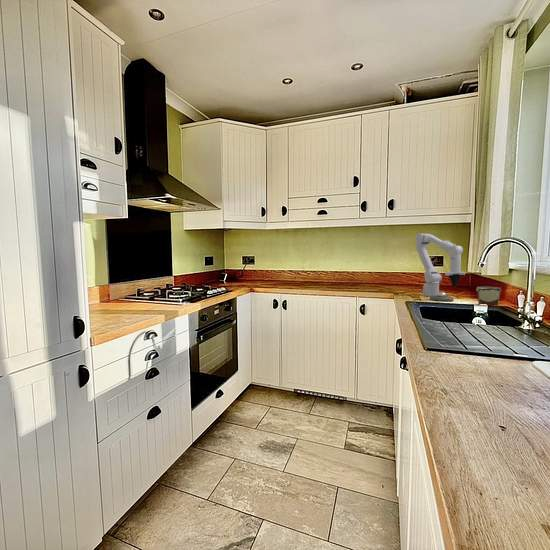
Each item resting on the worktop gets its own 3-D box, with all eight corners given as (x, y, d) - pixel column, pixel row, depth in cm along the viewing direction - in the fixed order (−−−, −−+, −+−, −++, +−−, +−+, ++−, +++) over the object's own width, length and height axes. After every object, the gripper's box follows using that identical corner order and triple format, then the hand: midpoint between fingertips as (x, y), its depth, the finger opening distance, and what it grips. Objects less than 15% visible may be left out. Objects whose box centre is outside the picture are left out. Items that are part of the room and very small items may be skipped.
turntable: (424, 298, 192) (425, 296, 192) (440, 297, 196) (440, 294, 196) (442, 301, 179) (442, 298, 179) (458, 300, 184) (458, 297, 184)
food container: (493, 303, 171) (494, 286, 171) (500, 305, 165) (501, 287, 165) (471, 303, 173) (471, 286, 172) (477, 305, 167) (477, 287, 166)
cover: (434, 296, 189) (434, 291, 189) (441, 296, 191) (441, 290, 191) (441, 297, 184) (441, 292, 184) (448, 297, 186) (448, 291, 186)
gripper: (452, 265, 183) (451, 287, 184) (469, 264, 187) (469, 286, 188) (442, 265, 189) (441, 286, 190) (459, 264, 194) (459, 285, 195)
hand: (454, 286), depth 190 cm, fingers closed
